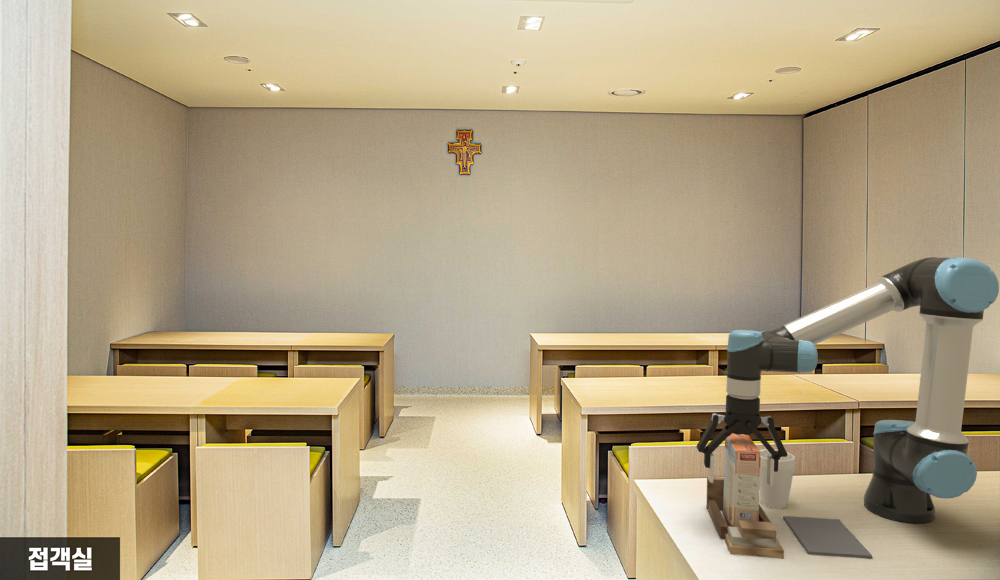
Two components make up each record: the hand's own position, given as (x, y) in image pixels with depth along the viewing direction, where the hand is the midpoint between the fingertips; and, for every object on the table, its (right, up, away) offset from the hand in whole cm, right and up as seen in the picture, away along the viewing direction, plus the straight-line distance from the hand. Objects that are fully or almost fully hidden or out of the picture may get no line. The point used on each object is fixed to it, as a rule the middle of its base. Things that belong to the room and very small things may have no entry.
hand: (740, 482), depth 145 cm
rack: (0, -11, +2) cm, 11 cm away
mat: (+18, -11, -5) cm, 21 cm away
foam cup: (+14, -10, +14) cm, 22 cm away
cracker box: (0, -11, +1) cm, 11 cm away
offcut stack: (-1, -12, -11) cm, 16 cm away
